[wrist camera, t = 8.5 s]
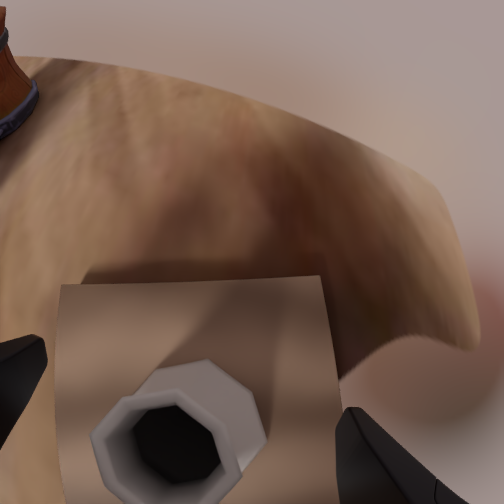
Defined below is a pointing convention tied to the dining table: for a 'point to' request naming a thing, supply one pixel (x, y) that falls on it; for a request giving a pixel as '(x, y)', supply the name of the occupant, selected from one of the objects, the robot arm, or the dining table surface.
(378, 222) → the dining table surface
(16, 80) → the mug
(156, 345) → the walnut board
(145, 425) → the flask
